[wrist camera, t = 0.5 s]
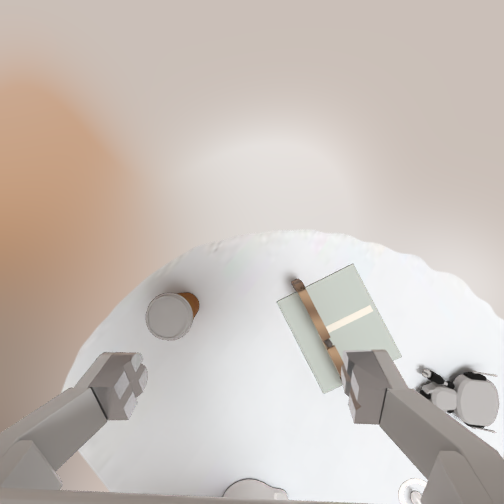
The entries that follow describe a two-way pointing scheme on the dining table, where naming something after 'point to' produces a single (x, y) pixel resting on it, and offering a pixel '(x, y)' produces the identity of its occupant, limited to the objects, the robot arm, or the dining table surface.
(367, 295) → the card
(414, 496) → the teacup and saucer
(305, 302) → the hinged fence panel
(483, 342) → the dining table surface
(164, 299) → the disposable coffee cup
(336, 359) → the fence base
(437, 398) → the robot toy
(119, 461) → the dining table surface
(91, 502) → the robot arm
